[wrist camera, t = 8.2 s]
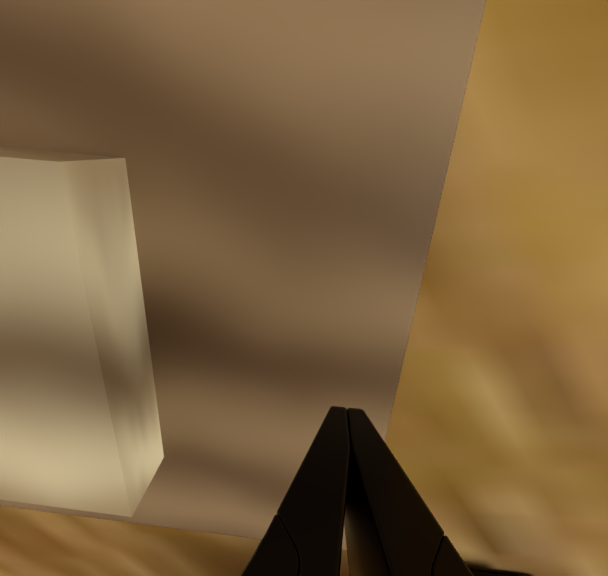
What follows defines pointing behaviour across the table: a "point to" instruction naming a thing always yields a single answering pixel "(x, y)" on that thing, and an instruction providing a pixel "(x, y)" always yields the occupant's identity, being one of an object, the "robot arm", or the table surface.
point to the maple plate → (73, 337)
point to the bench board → (254, 209)
